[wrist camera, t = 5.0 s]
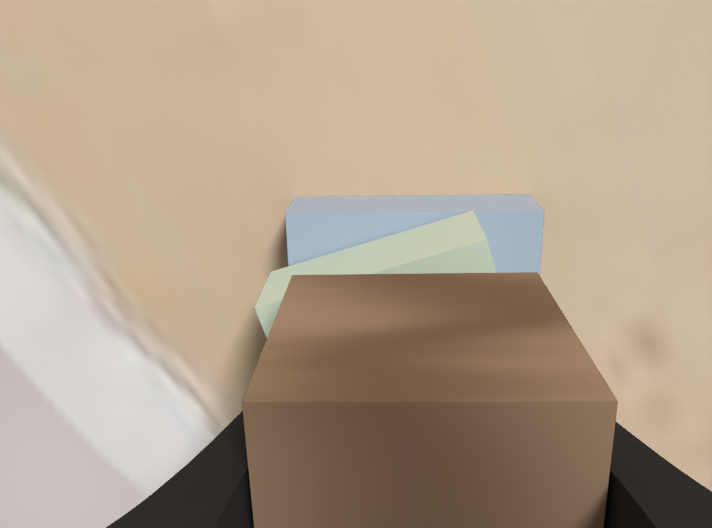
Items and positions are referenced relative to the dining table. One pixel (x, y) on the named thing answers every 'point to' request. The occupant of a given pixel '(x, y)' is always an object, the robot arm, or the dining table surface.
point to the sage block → (391, 259)
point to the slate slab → (415, 224)
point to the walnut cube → (426, 407)
